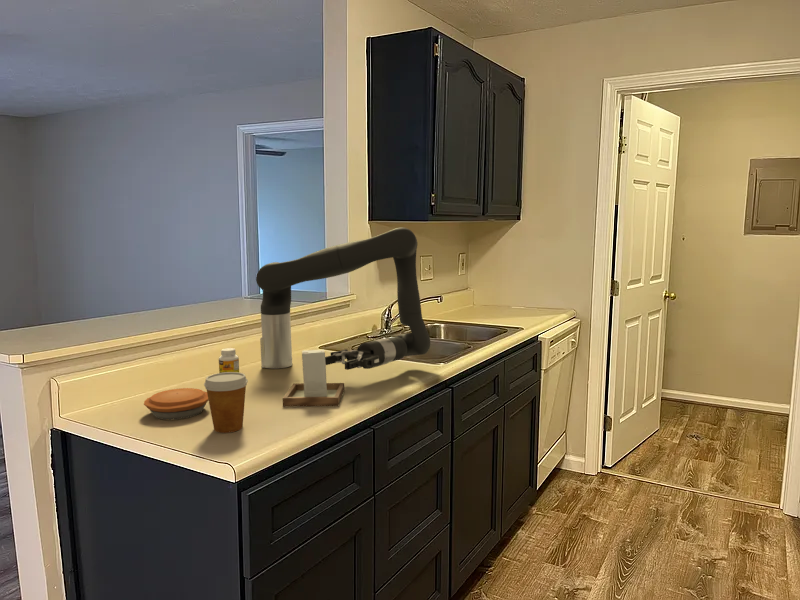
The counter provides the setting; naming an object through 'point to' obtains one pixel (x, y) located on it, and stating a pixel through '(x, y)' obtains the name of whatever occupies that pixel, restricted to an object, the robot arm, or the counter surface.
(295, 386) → the tray
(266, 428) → the counter surface
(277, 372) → the counter surface
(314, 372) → the skincare box
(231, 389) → the disposable coffee cup
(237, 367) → the supplement bottle
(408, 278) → the robot arm
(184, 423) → the counter surface
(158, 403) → the pie
